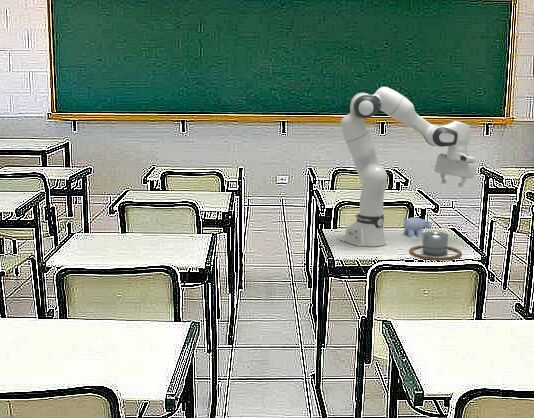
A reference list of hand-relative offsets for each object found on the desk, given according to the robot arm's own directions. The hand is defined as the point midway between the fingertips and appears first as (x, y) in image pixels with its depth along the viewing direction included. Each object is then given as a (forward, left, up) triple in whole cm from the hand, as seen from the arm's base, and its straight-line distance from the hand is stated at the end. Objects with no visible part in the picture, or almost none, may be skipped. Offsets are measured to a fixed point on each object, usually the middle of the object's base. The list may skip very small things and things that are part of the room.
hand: (452, 185), depth 356 cm
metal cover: (+6, -20, -29) cm, 35 cm away
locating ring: (+7, -19, -28) cm, 35 cm away
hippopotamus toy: (-22, +3, -29) cm, 36 cm away
